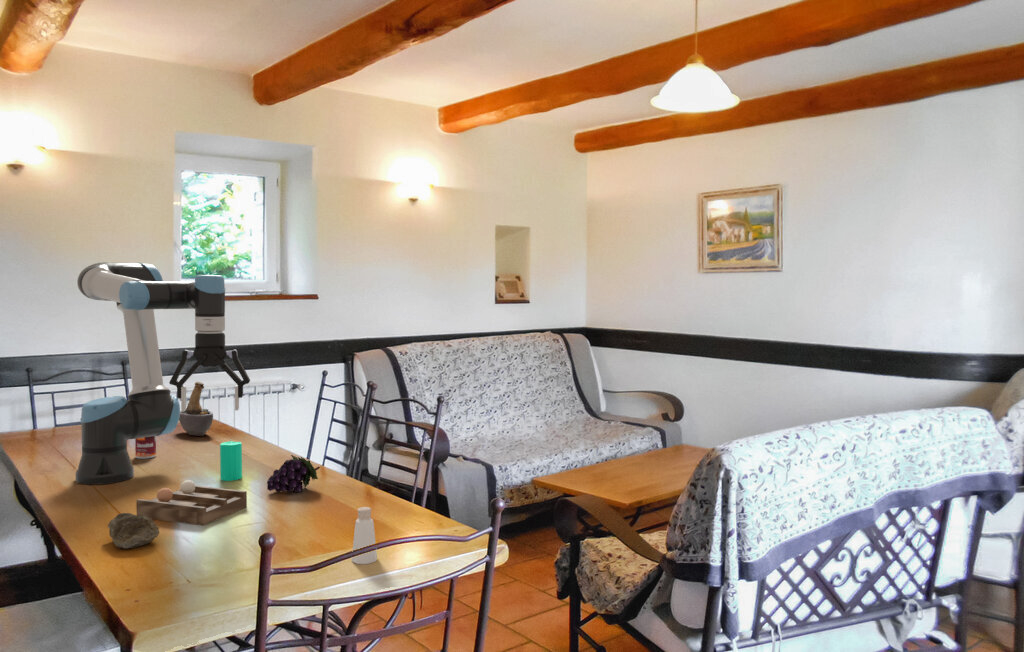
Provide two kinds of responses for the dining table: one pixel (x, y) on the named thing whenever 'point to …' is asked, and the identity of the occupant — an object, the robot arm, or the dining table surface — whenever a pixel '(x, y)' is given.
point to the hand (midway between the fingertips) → (210, 410)
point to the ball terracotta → (164, 495)
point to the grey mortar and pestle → (196, 414)
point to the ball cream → (187, 487)
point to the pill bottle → (145, 447)
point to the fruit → (292, 475)
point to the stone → (132, 530)
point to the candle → (230, 461)
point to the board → (194, 505)
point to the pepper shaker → (364, 536)
